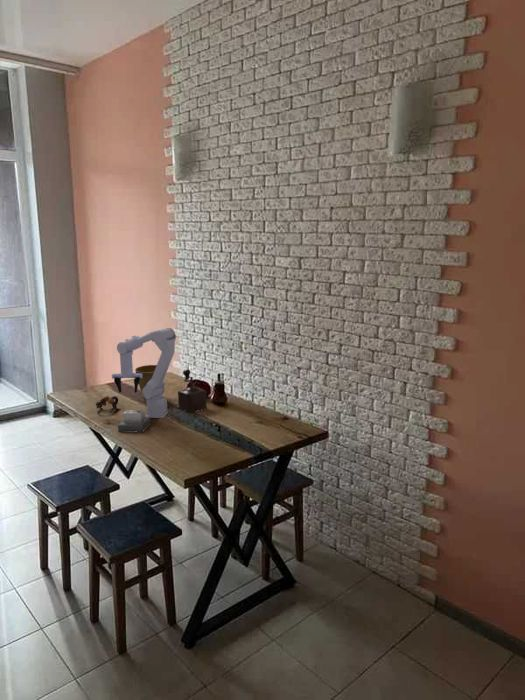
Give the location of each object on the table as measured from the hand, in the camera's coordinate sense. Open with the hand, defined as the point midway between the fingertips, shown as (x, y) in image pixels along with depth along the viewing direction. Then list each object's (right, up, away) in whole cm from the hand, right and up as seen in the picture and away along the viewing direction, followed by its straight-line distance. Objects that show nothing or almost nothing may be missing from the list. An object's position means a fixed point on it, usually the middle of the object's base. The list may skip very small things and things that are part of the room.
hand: (128, 392), depth 267 cm
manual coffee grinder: (+30, -8, +7) cm, 32 cm away
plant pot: (+6, -5, +23) cm, 24 cm away
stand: (+8, -14, -21) cm, 27 cm away
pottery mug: (-10, -9, +3) cm, 14 cm away
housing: (+8, -12, -22) cm, 26 cm away
